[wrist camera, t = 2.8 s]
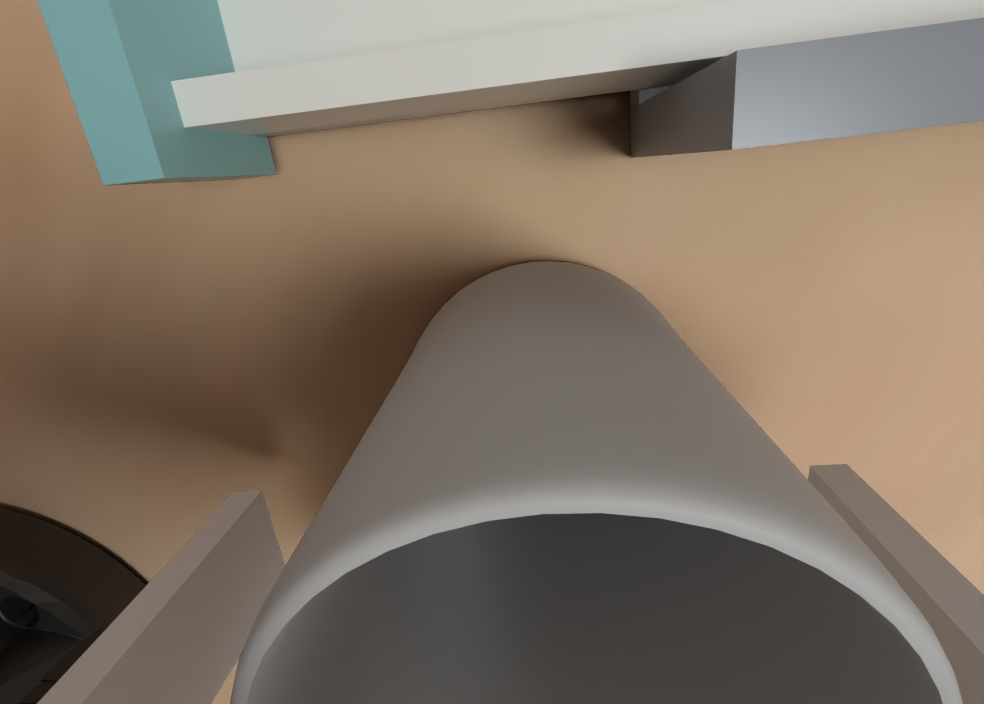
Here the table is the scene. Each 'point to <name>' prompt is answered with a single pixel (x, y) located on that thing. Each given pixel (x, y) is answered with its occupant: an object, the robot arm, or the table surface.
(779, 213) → the table surface
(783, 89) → the dock
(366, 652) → the mug
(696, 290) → the table surface
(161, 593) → the robot arm
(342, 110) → the tray
